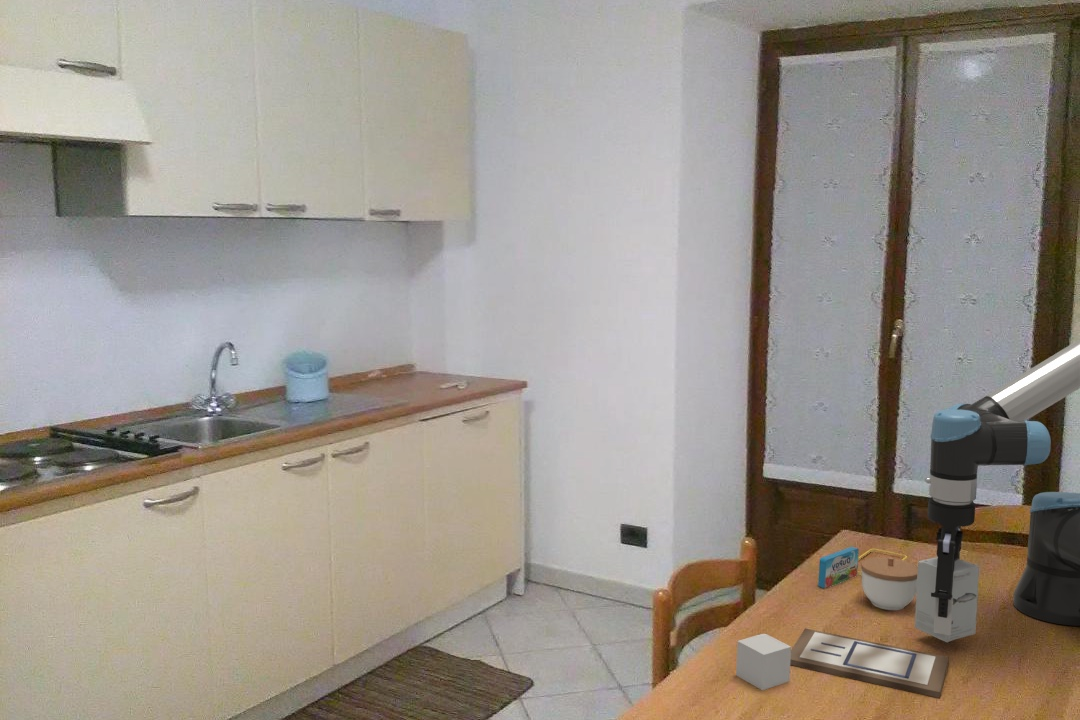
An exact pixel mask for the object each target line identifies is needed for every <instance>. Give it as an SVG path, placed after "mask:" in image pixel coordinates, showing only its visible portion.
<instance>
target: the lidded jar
mask: <svg viewBox="0 0 1080 720" xmlns="http://www.w3.org/2000/svg"><path fill="white" fill-rule="evenodd" d="M860 566H861V567H860V569H861V576H860V577H861V579H860V580H861V586H862V590H863V592H864V594H865V596H866V597H867V599H868V600H869V601H870V603H871V604H872V605H873V607H875V608H878V609H882V610H885V611H901V610H903V609H905V607H906V606H908V605H909V604H910V603H911V602H912V601H913V600H914V598H916V597H915V596H916V592H917V574H918V565H915V564H913V563H912V562H909V561H908V560H907V561H904V560H902V559H900V558H894V557H893V556H892V557H891V556H890V557H885V556H884V557H883V556H881V557H880V556H879V557H878V556H877V557H876V556H874V557H869V558H866V559H863V560H862V561H861V565H860Z"/></svg>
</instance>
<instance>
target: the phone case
mask: <svg viewBox="0 0 1080 720" xmlns="http://www.w3.org/2000/svg"><path fill="white" fill-rule="evenodd" d="M870 552H871V553H875V552H877V553H876V554H878V553H879V552H880V553H884V554H885V556H886V555H887V554H889V555H892V557H895V556H898V557H902V559H901V560H904V561H907V562H908V556H907V555H906V554H901V553H897V552H894V551H893V552H892V551H888V550H883V549H879V548H878V549H877V548H869V550H867V551H865V552H864V553H862V554H861V555H859V556H858V560H859V561H861V560H862V559H864V558H865V557H867V556H868V555H870V554H871V553H870ZM869 553H870V554H869ZM867 554H868V555H867ZM866 555H867V556H866ZM864 556H865V557H864ZM863 557H864V558H863ZM861 558H862V559H861ZM860 559H861V560H860ZM861 572H862V570H861V571H859V570H857V576H859V575H861Z"/></svg>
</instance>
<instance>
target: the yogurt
mask: <svg viewBox="0 0 1080 720" xmlns="http://www.w3.org/2000/svg"><path fill="white" fill-rule="evenodd" d="M859 550H860V549H859V548H857V547H854V546H849V547H847V548H845V549H841V550H839V551H836V552H833V553H831V554H828V555H825V556H822V557H820V558H819V565H818V566H819V569H818V585H817V587H819V588H821V587H822V588H821V589H824V588H826V589H828V588H827V587H829V588H831V587H833V586H832V585H834V586H836V585H838V583H839V584H841V583H843V581H844V582H846V581H848V579H849V580H850V578H851V579H853V578H852V577H854V578H855V576H856V577H857V576H858V575H857V571H859V570H858V566H859V561H858V557H859V552H860V551H859ZM845 580H846V581H845ZM840 582H841V583H840ZM835 584H836V585H835ZM830 586H831V587H830Z"/></svg>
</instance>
